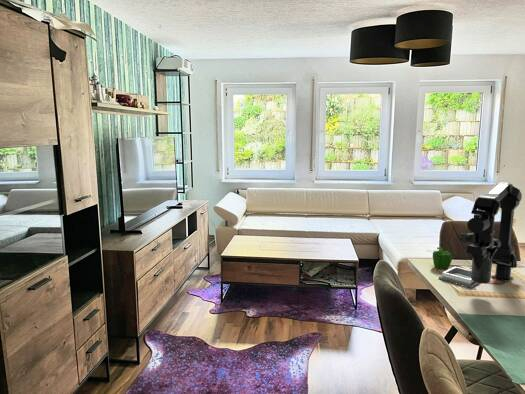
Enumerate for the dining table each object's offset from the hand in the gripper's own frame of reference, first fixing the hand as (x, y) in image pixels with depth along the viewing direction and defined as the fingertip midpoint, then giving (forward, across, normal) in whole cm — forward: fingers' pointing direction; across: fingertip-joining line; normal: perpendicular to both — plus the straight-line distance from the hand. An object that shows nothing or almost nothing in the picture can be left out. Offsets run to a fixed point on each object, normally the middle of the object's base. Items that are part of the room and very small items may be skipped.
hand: (481, 267), depth 157 cm
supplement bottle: (+6, 0, 0) cm, 6 cm away
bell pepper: (+12, -20, -25) cm, 34 cm away
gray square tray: (+12, -12, -12) cm, 21 cm away
